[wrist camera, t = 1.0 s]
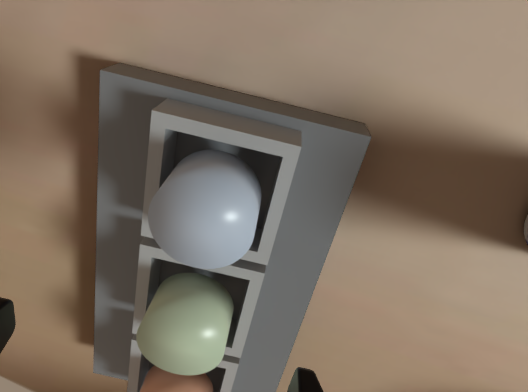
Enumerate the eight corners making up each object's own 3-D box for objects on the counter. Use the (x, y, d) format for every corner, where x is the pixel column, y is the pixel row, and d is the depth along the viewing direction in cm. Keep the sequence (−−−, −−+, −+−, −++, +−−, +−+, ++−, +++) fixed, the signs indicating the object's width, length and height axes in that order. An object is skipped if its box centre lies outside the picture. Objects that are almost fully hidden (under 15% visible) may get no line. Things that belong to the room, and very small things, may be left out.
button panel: (270, 385, 28) (265, 442, 24) (106, 348, 27) (77, 400, 24) (364, 123, 18) (379, 153, 15) (119, 62, 18) (75, 78, 15)
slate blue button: (251, 242, 17) (243, 278, 15) (164, 221, 17) (143, 255, 15) (271, 162, 16) (265, 191, 13) (174, 139, 16) (152, 163, 13)
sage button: (226, 340, 20) (216, 383, 18) (152, 322, 20) (133, 364, 18) (240, 283, 19) (231, 323, 16) (159, 264, 19) (139, 302, 16)
